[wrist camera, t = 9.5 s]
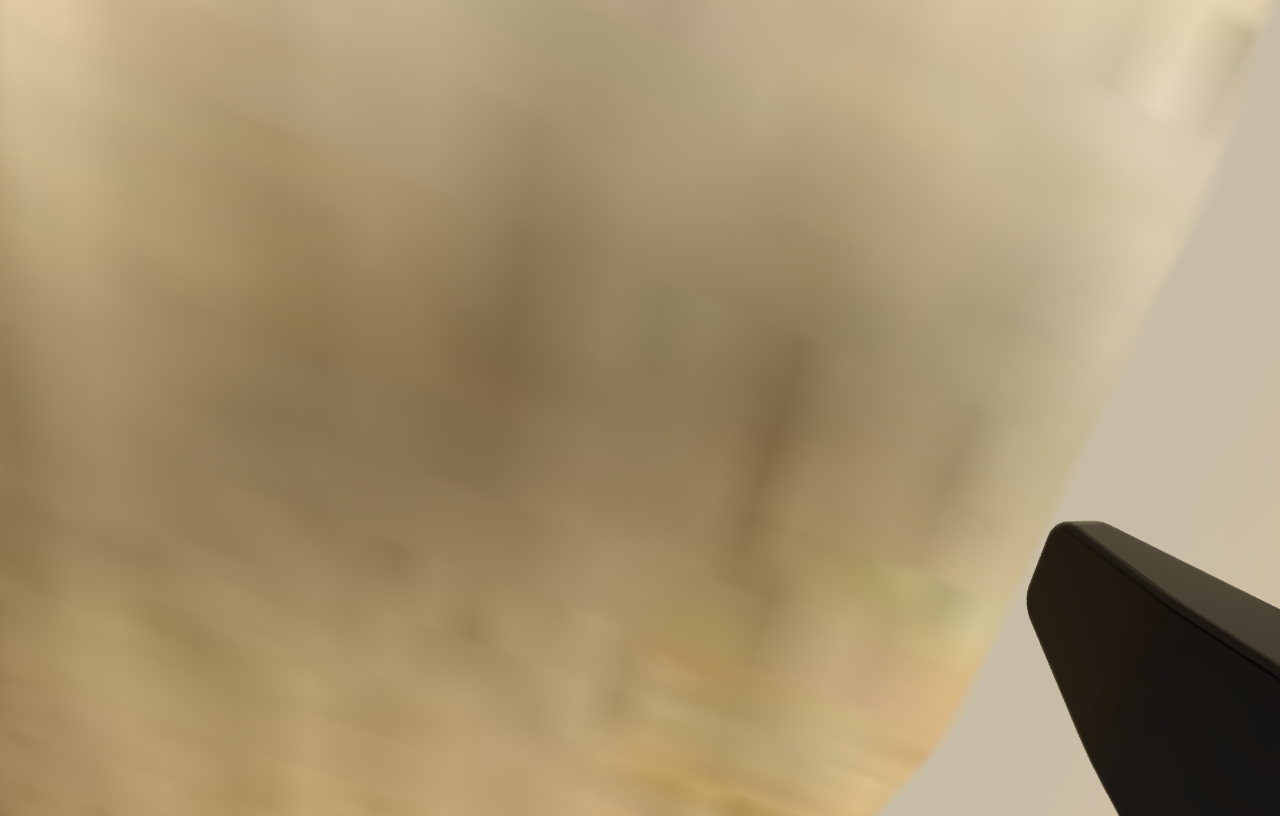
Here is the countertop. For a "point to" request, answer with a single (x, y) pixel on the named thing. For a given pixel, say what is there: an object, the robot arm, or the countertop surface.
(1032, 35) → the countertop surface
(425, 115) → the countertop surface
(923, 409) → the countertop surface
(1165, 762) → the robot arm
